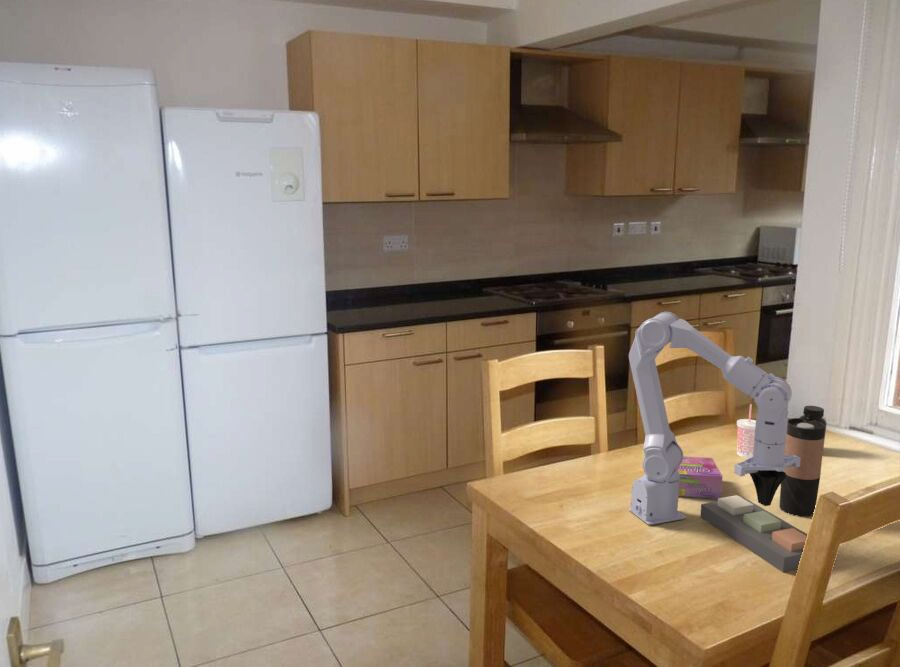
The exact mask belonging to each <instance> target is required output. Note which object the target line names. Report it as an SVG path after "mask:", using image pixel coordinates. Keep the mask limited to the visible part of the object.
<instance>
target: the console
mask: <svg viewBox="0 0 900 667" xmlns="http://www.w3.org/2000/svg"><path fill="white" fill-rule="evenodd" d="M740 497H741V498H743V499H744V500H746V501H748V502H750V503H751V504H753V512H751V513H754V512H760V511H765V512H767V513H768V514H770V515H772V516H773V517H775V518H777V519H779V520H780V521H782V523H781V529H779V530H773V531H768V532H763V533H760V532H758V531H757V530H755V529H753V528H752V527H750V526H749V525H747V524H745V523H744V522H743V519H744V514H740V515H734V516H733V515H731V514H730V513H728V512H726V511H725V510H723V509H722V508H720V507H718V506H717V504H718V500H717V501H712V502H706V503H701V504H700V505H701V506H700V518H701V519H702V520H704V521H706V522H707V523H709V524H710V525H712V526H713V527H715V528H716V529H717V530H720V531H721V532H722V533H724V534H725V535H726V536H728V537H729V538H731V539H732V540H734V541H736V542H737V543H738V544H740V545H742V546H743V547H745V548H746V549H747V550H749V551H750V552H752V553H753V554H755V555H757V556H758V557H759V558H761V559H762V560H764V561H765V562H766V563H768V564H770V565H772V566H773V567H774V568H776V569H778V570H779V571H780V572H782V573H785V572H790V571H794V570H798V569H797V568H798V565H799V561H800V558H801V555H802V552H803V550H799V551H794V552H790V551H788V550H787V549H785V548H784V547H782V546H781V545H779V544H777V543H776V542H774V541H773V540H772V532H775V531H780V530H785V529H790V528H794V529H796V530H797V531H799V532H801V533H802V534H804V535H806V536H807V533H805V531H803V530H800V529H799V528H797V527H796V526H794V525H792V524H790V523H789V522H788V521H785V520H783V519H782V518H780V517H779V516H776V515H775V514H773V513H772V512H770V511H768V510H766V509H765V508H763V507H761V506H760V505H758V504H756V503H754V502H753V501H751V500H749V499H747V498H746V497H744V496H740ZM745 514H749V513H745Z"/></svg>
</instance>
